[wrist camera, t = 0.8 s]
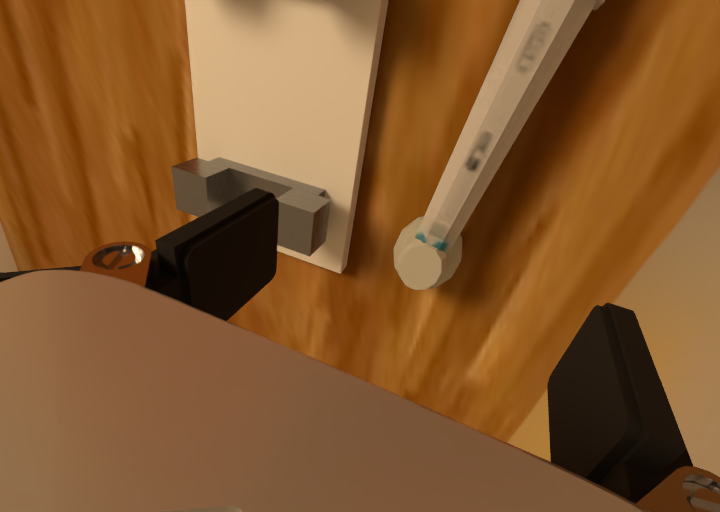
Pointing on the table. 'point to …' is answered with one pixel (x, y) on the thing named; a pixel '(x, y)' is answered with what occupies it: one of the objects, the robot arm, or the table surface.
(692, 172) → the table surface
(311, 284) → the table surface
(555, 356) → the table surface
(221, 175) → the v blocks
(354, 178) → the stand board
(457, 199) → the white handheld device
